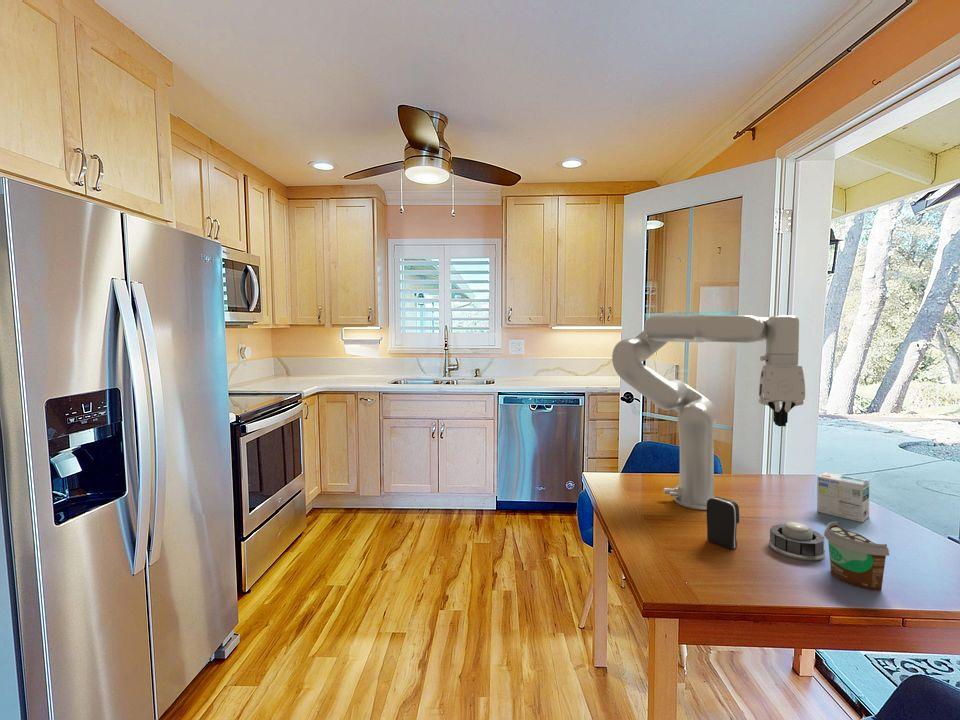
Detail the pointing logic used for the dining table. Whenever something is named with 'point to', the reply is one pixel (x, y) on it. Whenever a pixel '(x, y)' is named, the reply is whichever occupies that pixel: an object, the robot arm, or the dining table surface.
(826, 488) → the light bulb box
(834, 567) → the food container
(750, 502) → the dining table surface
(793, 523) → the cap
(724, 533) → the battery charger
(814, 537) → the faceted grey bowl
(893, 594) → the dining table surface
